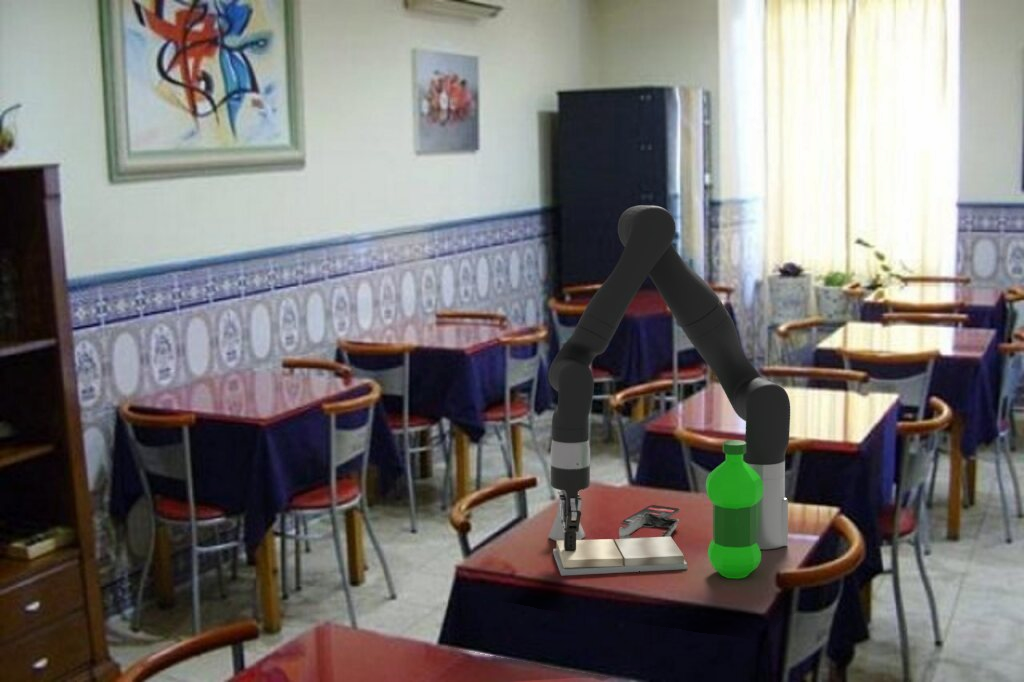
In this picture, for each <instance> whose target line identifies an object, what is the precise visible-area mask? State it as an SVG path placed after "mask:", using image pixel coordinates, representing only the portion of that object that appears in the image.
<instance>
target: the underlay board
mask: <svg viewBox="0 0 1024 682" xmlns="http://www.w3.org/2000/svg"><path fill="white" fill-rule="evenodd" d="M552 550H553V551H552V552H553V553H552V554H553V556H554V559H555V562H556V565H557V568H558V571H559V573H560V576H580V575H581V576H582V575H597V574H598V575H599V574H615V573H618V574H619V573H620V574H621V573H636V572H639V571H640V572H656V571H657V572H658V571H672V570H673V571H676V570H688V563H687V562H686V560H685V559H684V563H678V564H659V565H640V566H625V565H624V563H623V566H608V567H572V568H564V567H563V564H562V562H561V559H560V556H559V554H558V551H557V548H553V549H552Z"/></svg>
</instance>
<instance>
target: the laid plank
mask: <svg viewBox="0 0 1024 682" xmlns="http://www.w3.org/2000/svg"><path fill="white" fill-rule="evenodd" d="M613 541H614V543H615V545H616V547H617V549H618V550H619V552H620V554H621V556H622V558H623V563H624V565H625V566H640V565H659V564H678V563H684V560H685V555H684V554H683V552H682V550H681V549H680V548H679V546H678V545H677V544H676V542H675V541H674V539H673V538H672V535H671V536H669V537H661V536H654V537H652V536H651V537H644V538H636V537H634V538H630V539H620V538H618V539H617V538H614V539H613Z"/></svg>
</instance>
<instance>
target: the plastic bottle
mask: <svg viewBox="0 0 1024 682" xmlns="http://www.w3.org/2000/svg"><path fill="white" fill-rule="evenodd" d="M722 453H723V454H725V460H724V461H723V462H721V463H720V464H719V465H718V466H716V467H715V468H714V469H713V470H712V471H710V473H708V475H707V478H706V480H705V490H706V493H707V494H706V495H707V497H708V499H709V500H710V502H711V503H712V539H711V541H710V543H709V545H708V547H707V556H708V559H709V561H710V563H711V566H712V567H713V569H714V570H715V571H716V572H718V574H720V575H721V576H722V577H724V578H727V579H736V580H738V579H745V578H746V577H748V576H749V575H750V574H751V573H752V572H753V571H755V570H756V569H757V568H758V567H759V565H760V563H761V561H762V551H761V549H759V546H758V544H757V543H756V504H757V503H758V502H759V501H760V500H761V499H762V495H763V482H762V480H761V477H760V476H759V475H758V473H757V472H756V471H754V470H753V469H752V468H751V467H750V466H749V465H748V464H747V463H745V462H744V461H743V454H745V453H746V442H744V440H739V439H732V440H731V439H730V440H724V441H723V442H722Z"/></svg>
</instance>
